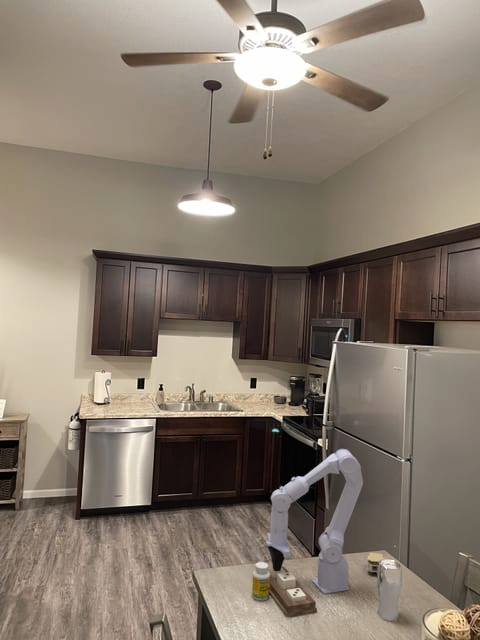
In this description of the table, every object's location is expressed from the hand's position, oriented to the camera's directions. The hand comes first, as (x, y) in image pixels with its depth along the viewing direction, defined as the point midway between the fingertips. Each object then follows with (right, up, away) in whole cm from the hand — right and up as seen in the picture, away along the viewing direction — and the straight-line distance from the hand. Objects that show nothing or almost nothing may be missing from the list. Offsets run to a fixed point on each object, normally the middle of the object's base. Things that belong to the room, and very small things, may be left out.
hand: (276, 570), depth 153 cm
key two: (+2, -2, -7) cm, 7 cm away
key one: (0, -3, 0) cm, 3 cm away
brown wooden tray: (+2, -4, -7) cm, 8 cm away
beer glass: (+32, -5, -15) cm, 36 cm away
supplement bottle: (-6, -4, -9) cm, 11 cm away
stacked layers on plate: (+35, -7, +11) cm, 38 cm away
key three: (+5, -3, -13) cm, 14 cm away
